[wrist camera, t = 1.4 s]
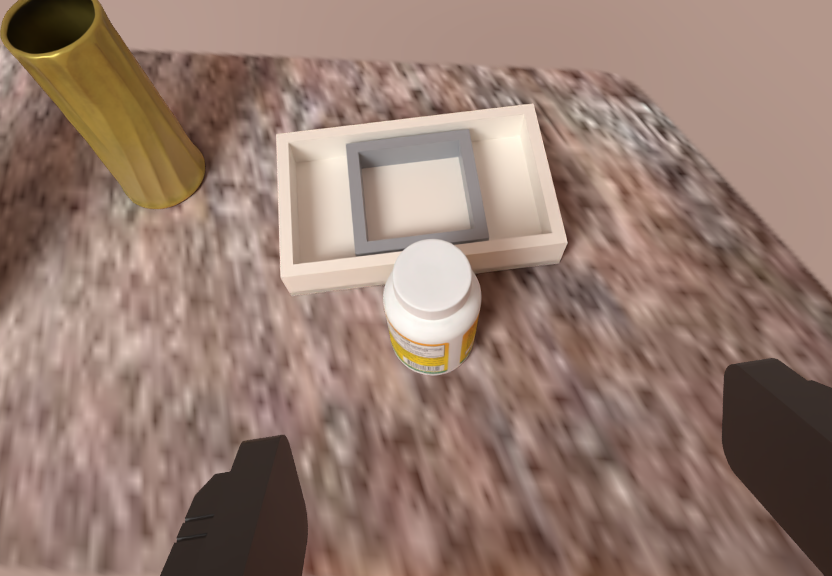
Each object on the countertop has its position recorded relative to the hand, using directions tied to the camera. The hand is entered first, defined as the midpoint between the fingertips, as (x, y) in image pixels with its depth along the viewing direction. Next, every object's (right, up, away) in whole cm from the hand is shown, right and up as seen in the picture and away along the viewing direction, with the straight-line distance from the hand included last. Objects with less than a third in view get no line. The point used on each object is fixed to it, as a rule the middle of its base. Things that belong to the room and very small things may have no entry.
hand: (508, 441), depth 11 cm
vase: (-20, +11, +34) cm, 41 cm away
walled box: (-2, +8, +32) cm, 33 cm away
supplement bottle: (-1, 0, +28) cm, 28 cm away
